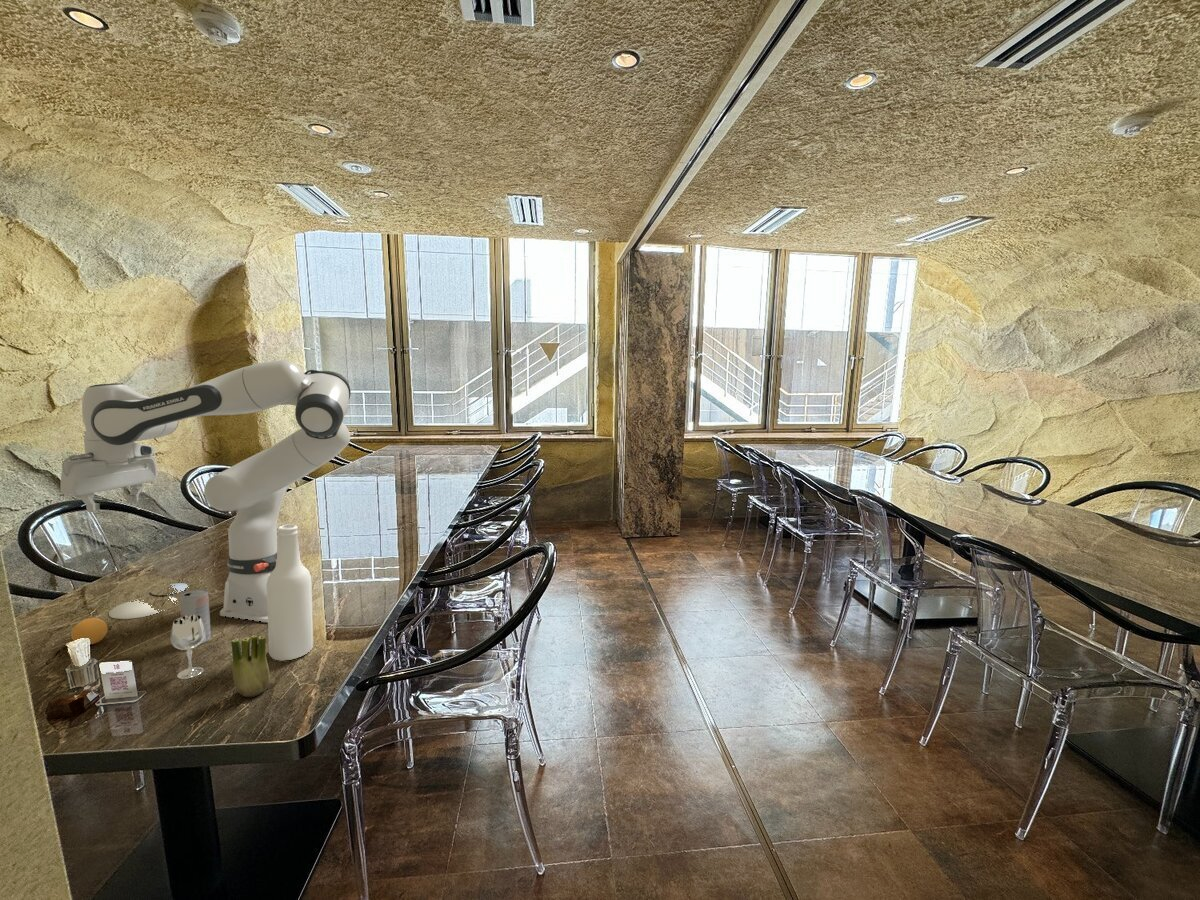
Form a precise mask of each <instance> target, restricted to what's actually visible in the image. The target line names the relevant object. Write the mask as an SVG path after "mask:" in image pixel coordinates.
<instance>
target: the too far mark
mask: <svg viewBox="0 0 1200 900" xmlns="http://www.w3.org/2000/svg"><path fill="white" fill-rule="evenodd" d="M169 584H170V585H172V586H173V587H172V586H171V587H172V588H174V590H175V588H176V589H177V590H178V592H177V591H176V590H175V591H176V592H177V594H180V593H179V592H181V591H183V592H185V591H184V590H185V588H187V587H188V585H187V584H188V583H185V582H184V583H182V582H177V583H169ZM174 585H175V586H174ZM188 588H189V587H188ZM169 589H170V588H169ZM189 589H190V588H189ZM180 590H181V591H180ZM173 592H174V591H173ZM173 592H172V594H173V595H175V594H174V593H173ZM176 592H175V593H176ZM181 593H182V592H181ZM170 594H171V593H170ZM170 594H169V595H168V594H167V595H168V596H171V595H170Z"/></svg>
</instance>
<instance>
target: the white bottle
mask: <svg viewBox="0 0 1200 900" xmlns="http://www.w3.org/2000/svg"><path fill="white" fill-rule="evenodd" d="M298 533H299V531H298V526H297V525H296V524H283V525H281V526H280V525H279V526H277V564H276V567H275V569H274V570H273V571H272V572H271V573H270V575H269V576H268V580H267V584H266V587H267V612H268V622H267V630H268V631H267V632H268V633H267V635H268V653H269V656H270V657H271V658H272V659H273V660H274V659H275V660H274V661H276V660H280V661H279V662H281V661H284V660H292V659H295V658H298V657H301V656H303V655H305V654H307V653H308V652H309V653H310V652H311V651H312V649H313V648H314V628H313V627H314V625H313V623H314V622H313V595H312V594H313V590H312V588H313V587H312V576H311V572H310V570H308V569H307V567H306V566H305V565H303V563H302V561H301V555H300V547H299V545H300V544H299V538H298V537H299V536H298ZM310 650H311V651H310ZM309 653H308V654H309ZM308 654H307V655H308ZM292 661H293V660H292ZM284 662H285V661H284Z"/></svg>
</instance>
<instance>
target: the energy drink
mask: <svg viewBox="0 0 1200 900" xmlns="http://www.w3.org/2000/svg"><path fill="white" fill-rule="evenodd" d="M209 598H210V596H209V592H208V590H207V589H206V588H193V589H188V590H186V591H183V592H181V594H180V597H179V607H180V608H179V610H180V617H183V616H187V615H200V616H201V618H202V620H203V623H204V626H205V638H204V640H203V641H202V643H201V644H199V645H198V646H200V645H203V644H205V643H208V641H209V640H210V639H211V638H212V637H211V636H212V635H211V618H210V617H211V616H210V615H211V614H210V600H209Z"/></svg>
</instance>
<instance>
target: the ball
mask: <svg viewBox="0 0 1200 900" xmlns="http://www.w3.org/2000/svg"><path fill="white" fill-rule="evenodd" d="M107 633H108V625H107V623H106V622H105V621H104V620H103V619H101V618H96V617H91V618H85V619H82V620H81V621H79V622H78V623H76V624H75V626H73V628H72V630H71V634H70V636H71V640H72V641H73V642H74V640H77V639H80V638H89V639H90V641H91V644H92V645H95V644H97V643H99V642H101V640H103V639H104V637H106V635H107Z"/></svg>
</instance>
